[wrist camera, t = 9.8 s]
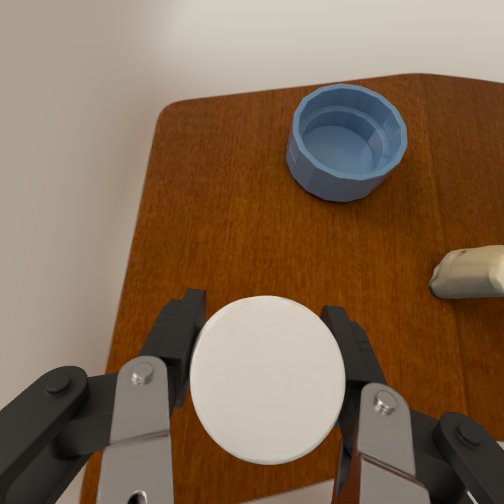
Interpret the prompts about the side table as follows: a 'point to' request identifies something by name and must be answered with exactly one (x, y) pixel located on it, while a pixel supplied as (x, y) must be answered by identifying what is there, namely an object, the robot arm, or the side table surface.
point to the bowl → (344, 142)
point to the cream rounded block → (470, 274)
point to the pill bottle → (266, 379)
